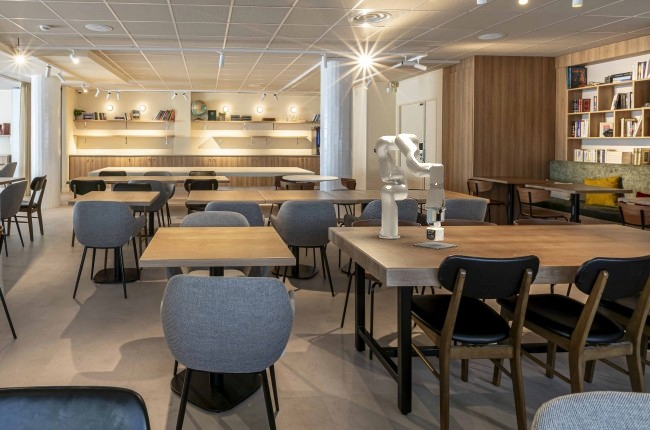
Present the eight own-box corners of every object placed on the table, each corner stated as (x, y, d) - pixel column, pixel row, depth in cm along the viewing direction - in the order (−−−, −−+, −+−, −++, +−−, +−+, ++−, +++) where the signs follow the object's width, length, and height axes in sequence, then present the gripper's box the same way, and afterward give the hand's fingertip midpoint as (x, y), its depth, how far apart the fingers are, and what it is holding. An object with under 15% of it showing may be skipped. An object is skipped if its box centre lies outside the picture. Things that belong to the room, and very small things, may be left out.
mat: (412, 245, 347) (412, 244, 347) (432, 242, 357) (432, 241, 357) (438, 249, 333) (438, 248, 333) (457, 246, 343) (457, 245, 343)
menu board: (426, 222, 341) (426, 208, 340) (440, 221, 348) (440, 207, 347) (431, 223, 338) (431, 209, 338) (444, 221, 345) (444, 207, 345)
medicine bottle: (426, 240, 366) (426, 219, 365) (434, 239, 370) (435, 218, 369) (435, 241, 361) (435, 220, 359) (443, 240, 365) (444, 219, 364)
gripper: (420, 186, 345) (419, 219, 347) (443, 187, 332) (442, 222, 334) (429, 185, 350) (428, 218, 352) (452, 187, 337) (452, 221, 339)
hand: (435, 220), depth 343 cm, fingers closed on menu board, 3 cm apart
